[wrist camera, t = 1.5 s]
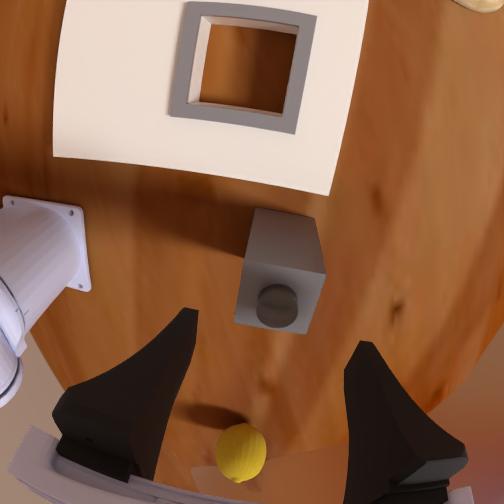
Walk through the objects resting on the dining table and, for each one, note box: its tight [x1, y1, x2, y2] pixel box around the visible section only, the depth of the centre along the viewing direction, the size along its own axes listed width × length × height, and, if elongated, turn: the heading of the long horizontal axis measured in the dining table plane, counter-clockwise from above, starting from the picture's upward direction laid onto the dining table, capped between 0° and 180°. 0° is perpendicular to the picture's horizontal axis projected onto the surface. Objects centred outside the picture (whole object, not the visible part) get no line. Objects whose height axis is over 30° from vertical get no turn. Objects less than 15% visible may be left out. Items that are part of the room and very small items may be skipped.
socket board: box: [53, 0, 369, 196], centre depth 16 cm, size 18×13×3 cm
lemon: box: [215, 423, 266, 483], centre depth 31 cm, size 6×6×8 cm
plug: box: [234, 207, 326, 335], centre depth 19 cm, size 4×4×8 cm
